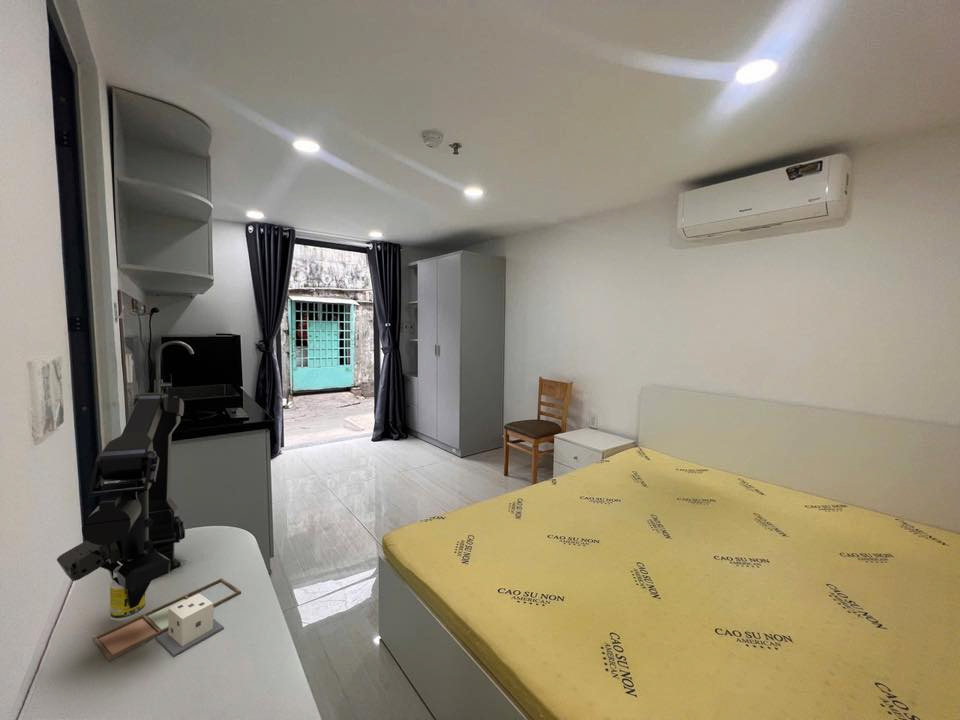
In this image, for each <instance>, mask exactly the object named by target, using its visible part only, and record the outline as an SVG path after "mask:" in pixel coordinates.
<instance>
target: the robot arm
mask: <svg viewBox="0 0 960 720" xmlns="http://www.w3.org/2000/svg"><path fill="white" fill-rule="evenodd" d="M132 401H133V402H132V410H131V413H130V415H129V417H128V420H127V421H126V423H125V426H124V429H123V430H122V433H121V435H120V436H118V437H115V438H114V439H112V440H111V441H108V442H107V443H106V444H105V447H104V448H103V449H102V451H101V453H100V454H98V455H97V456H96V459H95V460H94V461H95V462H94V466H93V469H92V474H91V477H90V478H91V479H90V483H89V486H88V487H89V488H88V491H87V497H88V498H90V497H92V498H94V497H99V499H100V500H99V502H98V506H97V507H96V508H95V509H94V510H93V511H92V512H91V513H90V515H88V517H87V518H86V519H85V520H84V522H83V525H82V527H81V533H82V536H83V538H84V539H85V541H83V542H81V543H80V544H78V545H75V546H74V547H72V548H70V549H69V550H67V551H65V552H64V553H62V554H60V555H59V556H58V557H57V558H56V561H57V563H58V565H59V566H60V568H61V569H62V570H63V572H64V573H65V575H66V576H68V577H69V579H70V580H71V581H72V582H77V581H79V580H81V579H82V578H85V577H86V576H88V575H90V574H91V573H93V572H94V571H97V570H98V569H100V568H101V569H104V570H107V571H108V573H109V575H110V577H111V580H112V581H113V580H114V581H115V582H116V583H117V584H118V585H121V586H122V587H123V588H124V589H125V592H126V596H127V600H128V604H129V607H130V608H134V607H136V606H138V604H139V603H140V601H141V599H142V597H143V595H144V593H145V594H146V592H147V590H148V588H149V586H150V584H151V583H152V581H154V580H157V579H158V578H161V577H164V576H165V575H168V574H169V573H170V572H171V571H172V570H173V569H175V568H178V567H180V566H181V565H182V562H181V561H179V560H178V559H176V558H175V555H176V554H175V546H176V545H175V544H177V543H180V542H181V541H182V540H183V539H185V538H186V527H185V523H184V521H183V520H182V519H183V518H182V516H181V515H179V508H178V507H179V506H178V505H177V504H176V503H175V502H174V501H173V499H172V498H171V472H172V471H171V467H172V466H171V465H172V463H171V462H172V435H173V432H174V431H175V430H176V428H177V427H178V426H179V424H180V423H181V417H183V416H184V412H185V402H184V400H182V398H180V397H178V396H175V395H174V396H171V395H168V394H167V393H163V392H143V393H140V394H136V395H135V396H134V398H133V399H132ZM102 481H103V482H104V483H102ZM117 481H118V482H117ZM105 482H108V483H105ZM120 565H121V567H120V568H119V570H118V571H117V577H115V578H113V571H114V569H115V568H117V567H118V566H120ZM112 581H111V582H112Z"/></svg>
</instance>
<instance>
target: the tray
mask: <svg viewBox="0 0 960 720" xmlns="http://www.w3.org/2000/svg"><path fill="white" fill-rule="evenodd" d="M219 583H221V584H223V585H225V586H226V587H227V588H229V589H230V590H232V591H233V592H234V593H232V594H230V595H228V596H226V597H224V598H222V599H220V600H218V601H217V602H213V609H214V608H216V607H218V606H219V605H221V604H223V603H225V602H227V601H229V600H232V599H233V598H235V597H237V596H239V595H241V594H242V591H241V590H240V589H238V588H237V587H235V586H234V585H233V584H231V583H230V582H228V581H226V579H224V578H220V579H217V580H215V581H213V582H209V584H206V585H204V586H202V587H200V588H198V589H195V590H193V591H191V592H189V593H187V594H184V595H181V596H180V597H178V598H175V599H174V600H172V601H169V602H167V603H165V604H163V605H160V606H159V607H156V608H154V609H152V610H150V611H148V612H146V613H144V614H141V615H139V616H136V617H134V618H133V619H130V620H128V621H126V622H124V623H122V624H119V625H118V626H115V627H113V628H111V629H108V630H107V631H104V632H103V633H99V634H98V635H95V636H94V637H92V642H93V643H94V644H95V645H96V646H97V648H98V649H99V650H100V651H101V653H103V655H104V656H105V658H107V660H108V662H110V661H112V660H114V659H116V658H118V657H120V656H122V655H124V654H126V653H127V652H130V651H131V650H133V649H135V648H137V647H140V646H141V645H144V644H145V643H147V642H149V641H151V640H154V639H156V637H157V636H159V635H161V634H163V633H165V632H167V631H169V608H170V607H172V606H174V605H176V604H178V603H180V602H182V601H184V600H186V599H188V598H190V597H192V596H195V595H197V594H199V593H200V592H202V591H204V590H207V589H209V588H211V587H213V586H215V585H217V584H219Z"/></svg>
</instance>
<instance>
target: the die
mask: <svg viewBox="0 0 960 720" xmlns="http://www.w3.org/2000/svg"><path fill="white" fill-rule="evenodd" d="M213 604H214V602H213V601H212V600H209V599H208V598H206V597H205V596H204V595H202V594H201V593H196V594H194V595H192V596H190V597H189V598H188V599H186V600H184V601H182V602H180V603H178V604H176V605H174V606H172V607H170V608H169V635H170V636H171V637H172V638H173V639H174V640H176V641H177V642H178V643H179V644H180V645H181V646H184V645H186V644H187V643H189V642H191V641H193V640H194V639H196V638H198V637H200V636H201V635H203V634H205V633H207V632H208V631H210V630H212V629H213V619H214V608H213Z"/></svg>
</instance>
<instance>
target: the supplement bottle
mask: <svg viewBox="0 0 960 720" xmlns="http://www.w3.org/2000/svg"><path fill="white" fill-rule="evenodd" d="M120 567H121V565H120V566H118V567H117V568H115V569H114V571H113V578H115V577H117V571H118V570H119V568H120ZM109 588H110V589H109V593H110V594H109V597H110V599H109V600H110V601H109V603H110V604H109V605H110V606H109V617H110V619H111V620H113V621H115V622H116V621H118V622H120V621H126V620H129V619H130V620H131V618H135V617H137V615H139V614H141V613H142V612H143V610H144V609H145V608H146V592H145V593H144V595H143V597H142V599H141V601H140V603H139V604H138V606H136V607H134V608H130V607H129V604H128V600H127V596H126V592H125V589H124V588H123V587H122V586H121V585H118V584H117V583H116V582H115V581H114V580H113V581H111V582H110V587H109Z"/></svg>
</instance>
